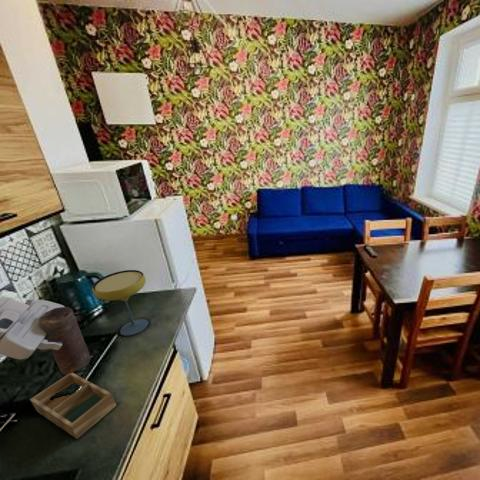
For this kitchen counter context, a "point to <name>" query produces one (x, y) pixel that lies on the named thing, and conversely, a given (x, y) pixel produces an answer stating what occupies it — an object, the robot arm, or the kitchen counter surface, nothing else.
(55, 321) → the candle
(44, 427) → the kitchen counter surface
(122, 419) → the kitchen counter surface
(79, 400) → the tray
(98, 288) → the cocktail glass
